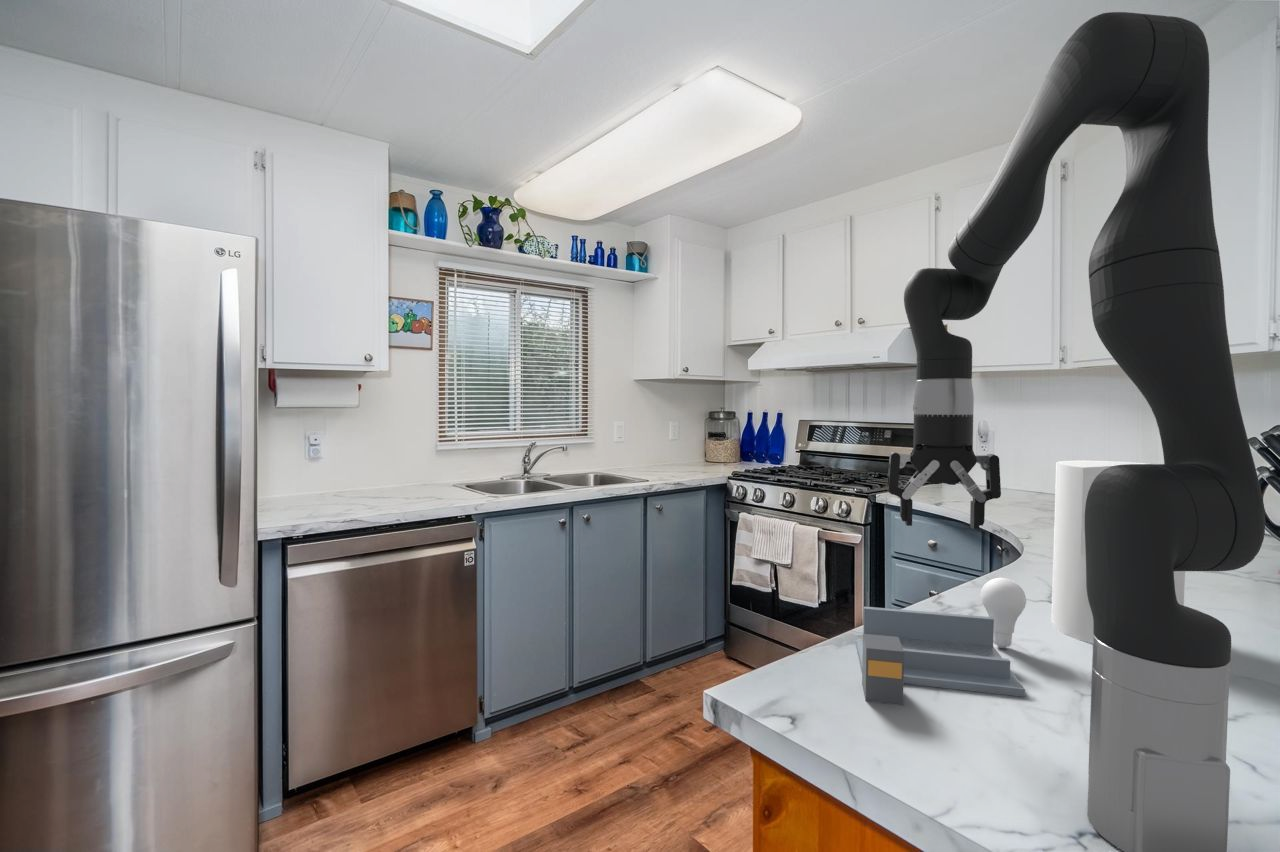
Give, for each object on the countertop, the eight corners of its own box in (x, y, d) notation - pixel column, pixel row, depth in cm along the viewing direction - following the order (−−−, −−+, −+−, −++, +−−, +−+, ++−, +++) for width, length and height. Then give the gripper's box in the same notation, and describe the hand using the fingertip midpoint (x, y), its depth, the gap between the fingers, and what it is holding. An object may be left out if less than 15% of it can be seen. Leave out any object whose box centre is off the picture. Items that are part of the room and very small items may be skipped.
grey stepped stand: (1024, 696, 80) (1026, 648, 80) (863, 678, 86) (863, 632, 85) (997, 659, 92) (998, 616, 92) (856, 645, 97) (856, 604, 97)
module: (903, 706, 78) (904, 652, 78) (865, 701, 79) (866, 648, 79) (897, 687, 83) (898, 636, 83) (862, 683, 84) (862, 633, 84)
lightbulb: (1031, 657, 93) (1033, 585, 92) (987, 654, 94) (989, 583, 93) (1015, 641, 99) (1017, 574, 98) (974, 638, 100) (975, 571, 99)
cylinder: (1027, 621, 108) (1032, 462, 106) (1094, 609, 114) (1099, 459, 113) (1136, 660, 92) (1143, 473, 90) (1207, 644, 98) (1214, 469, 96)
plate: (1008, 676, 84) (1008, 665, 84) (868, 662, 89) (868, 651, 89) (992, 656, 91) (993, 646, 91) (863, 643, 95) (863, 634, 95)
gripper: (891, 412, 85) (890, 529, 85) (1008, 412, 81) (1005, 535, 81) (886, 411, 92) (884, 519, 92) (992, 412, 88) (990, 524, 88)
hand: (941, 526), depth 87 cm, fingers open, 8 cm apart
